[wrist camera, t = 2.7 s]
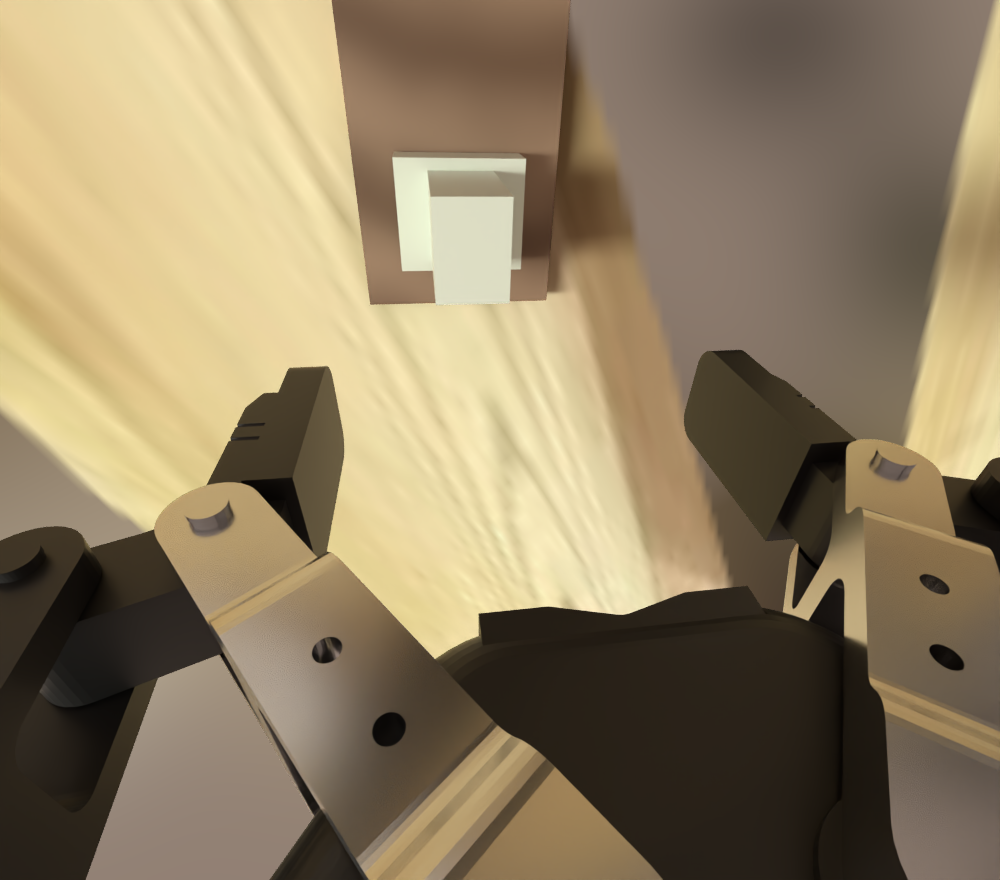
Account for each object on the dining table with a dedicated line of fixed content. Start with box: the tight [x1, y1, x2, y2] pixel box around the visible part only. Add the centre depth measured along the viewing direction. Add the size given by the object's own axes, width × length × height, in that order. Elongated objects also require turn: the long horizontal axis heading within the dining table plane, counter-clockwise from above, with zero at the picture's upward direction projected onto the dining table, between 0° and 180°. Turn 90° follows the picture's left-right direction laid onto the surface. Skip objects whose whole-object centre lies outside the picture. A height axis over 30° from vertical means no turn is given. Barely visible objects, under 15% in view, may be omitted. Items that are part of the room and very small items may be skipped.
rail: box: [332, 0, 570, 304], centre depth 21 cm, size 24×10×4 cm, turn 178°
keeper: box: [392, 152, 526, 305], centre depth 23 cm, size 5×6×8 cm
